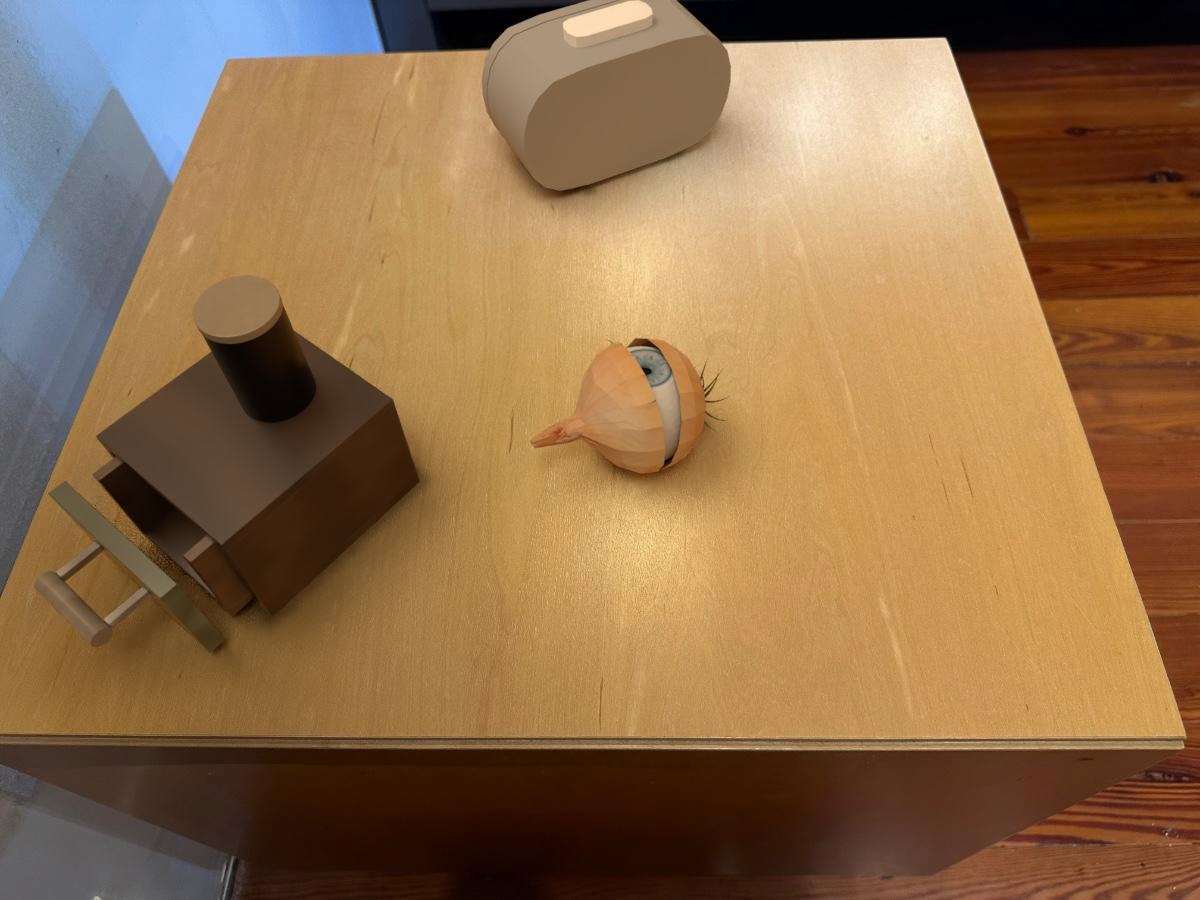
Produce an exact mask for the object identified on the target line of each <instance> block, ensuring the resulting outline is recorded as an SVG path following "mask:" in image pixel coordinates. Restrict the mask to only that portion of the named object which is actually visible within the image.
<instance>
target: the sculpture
mask: <svg viewBox="0 0 1200 900" xmlns="http://www.w3.org/2000/svg"><path fill="white" fill-rule="evenodd" d="M607 342H610V343H611V344H610V345H608V346H606V347H604V348H603V349H600V350H599V351H598V352H597V354H596V355H595V357H594V358H593V359H592V361H591V363H590V365H589V366H588V368H586V370H585V372H584V375H583V379H582V382H581V386H580V390H579V394H578V398H577V401H576V405H575V409H574V414H573V415H572V416H570V417H568V418H565V419H562V420H560V421H558V422H556V423H554V424H552V425H551V426H549V427H547V428H546V429H544V430H543V431H541V432H540V433H537V434H536V435H534V437H532V438H531V439H530V440H529V442H530V444H531V446H532V448H534V449H539V448H545V447H552V446H558V445H563V444H569V443H571V442H576V441H578V440H583V441H584V442H585V443H587V445H589V446H590V447H591V448H593V449H594V450H595V451H597V452H598V453H599V454H600V455H602V456H603V457H604V458H605V459H606V460H608V461H610V462H611V463H613V464H614V465H615V466H616V467H619V468H622V469H625V470H628V471H631V472H634V473H637V474H641V475H642V474H649V473H655V472H656V473H657V472H659V471H663V470H665V469H667V468H670V467H671V466H674V465H676V464H678V463H679V462H680V461H681V460H683V459H684V458H685V457H687V455H688V454H689V453H690V452H691V451H692V450H693V448H694V447H695V446H696V445H697V443H698V440H700V439H699V438H700V437H701V434H702V433H703V431H704V425H706V426H707V427H708V428H710V429H711V430H713V431H714V432H716V430H715V429H714V428H712V427H711V426H710V425H709V424H708V423H707V422H706V421H705V420H706V415H707V416H708V417H710V418H712V419H713V420H716V421H717V420H718V421H721V422H726V420H725V419H720V418H717V417H715V416H713V415H711V414H710V413H709V412H708V411H707V409H706V408H707V404H711V403H712V404H714V403H718V402H721V401H724V400H726V399H727V398H729V396H726V397H724V398H722V399H717V400H706V398H707V397H708V396H709V395H710V394H711V392H712V391H713V389H714V387H715V385H716V383H717V380H718V377H719V376H720V375H721V373H722V371H723V369H724V368H722V369H721V370H720V369H718V370H717V375H716V376H715V378H714V379H713V380H712V381H710V383H709V384H708V385H707V386H706V387H705V380H704V377H703V375H704V372H705V369H706V365H707V362H708V359H709V357H707V359H706V362H705V363H704V366H703V368H702V372H701V371H700V370H699V372H700V375H699V374H698V371H697V370H696V366H694V364H693V363H692V360H691V359H690V358H689V356H688V355H686V354H685V353H683V352H682V351H681V350H679V349H678V348H677V347H675V346H673V345H672V344H670V343H669V342H667V341H666V340H663V339H655V338H653V339H652V338H645V337H644V338H640V337H639V338H638V337H635V338H634V339H632V341H631V342H630V343H629V344H628V345H627V347H626V346H624V344H622V342H621V343H620V342H619V341H615V342H613V341H611V340H609V339H607ZM719 370H720V372H719Z"/></svg>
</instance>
